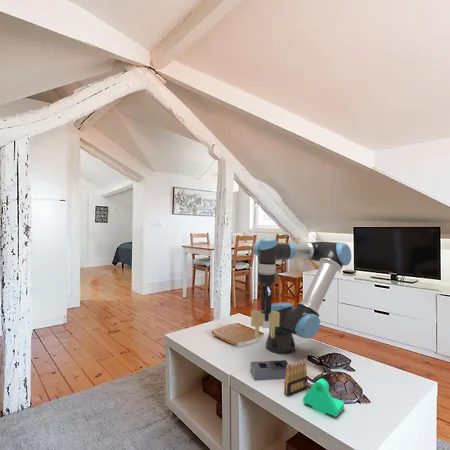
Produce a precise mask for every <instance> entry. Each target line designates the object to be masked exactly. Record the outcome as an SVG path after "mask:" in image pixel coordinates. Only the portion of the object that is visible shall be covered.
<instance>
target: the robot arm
mask: <svg viewBox="0 0 450 450" xmlns="http://www.w3.org/2000/svg"><path fill="white" fill-rule="evenodd" d="M252 249H253V250H252V251H253V254H254V255H255V256H257V257H258V265H257V269H258V275H257V276H258V277H257V281H258V283H261V285H260V308H261V309H260V310H261V311H264V312H262V313H263V327H262V329H269V331H268V332H269V333H268V336H267V339H266V341H265V349H266V350H267V351H269V352H271V353H275V354H282V355H284V354H285V355H286V354H291V353H294V352H295V351H296V341H295V338H294V337H293V335H296V336H298V337H299V338H304V339H310V338H311V339H312V338H314V337H315V336H316V335H317V333H318V332H319V330H320V327H321V325H320V324H321V320H320V314H319V309H320V308H321V306H322V303H323V302H324V298H325V297H326V295H327V293H328V291H329V289H330V287H331V284H332V283H333V280H334V278H335V276H336V273H337V272H341V270H342V268H343V267H344V266H349V264H350V263H351V261H352V251H351V248H350V246H349V245H348V244H347V243H345V242H340V241H338V242H336V241H335V242H334V241H311V242H309V241H307V242H304V243H292V242H291V243H290V242H277V239H275V238H260V240H259V241H256V242H255V243H254V244H253V248H252ZM294 258H297V259H298V258H300V259H301V258H303V259H304V260H309V261H314V262H317V263H319V264H320V265H319V267H318V269H317V271H316V273H315V274H314V277H313V279H312V281H311V283H310V285H309V286H308V289H307V291H306V293H305V295H304V297H303V299H302V301H301V302H298V303H297V304H296V306H295V307H294V308H293V304H292V303H291V302H275V303H272V300H273V299H272V298H273V289H272V287H271V284H274V283H276V273H277V272H276V271H277V270H276V269H277V268H276V266H277V263H276V261H277V260H288V261H289V260H292V259H294ZM271 311H278V312H279V313H280V318H279V327H275V338H272V337H271V336H270V332H271V327H269V320H270V313H271Z"/></svg>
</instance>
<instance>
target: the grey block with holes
mask: <svg viewBox="0 0 450 450" xmlns="http://www.w3.org/2000/svg"><path fill="white" fill-rule="evenodd" d="M287 364H289V362H288V361H287V359H286V360H284V359H283V360H281V359H280V360H266V361H265V360H264V361H250V373H251V376H252V378H253V380H254V381H267V380H270V381H271V380H282V379H285V380H286V367H287ZM289 371H290V364H289Z"/></svg>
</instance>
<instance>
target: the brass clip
mask: <svg viewBox="0 0 450 450" xmlns="http://www.w3.org/2000/svg"><path fill="white" fill-rule="evenodd" d="M262 312H264V311H262V310H251V312H250V313H251V314H250V315H251V317H250V320H251V321H250V325H251V327H254V336H255V338H256V339H259V338H260V327H262V328H263V313H262ZM279 318H280V313H279V312H278V311H271V313H270V320H269V327H271V332H270V336H271V337H272V338H275V327H279Z"/></svg>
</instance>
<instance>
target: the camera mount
mask: <svg viewBox="0 0 450 450" xmlns="http://www.w3.org/2000/svg"><path fill="white" fill-rule="evenodd" d="M329 390H330V384H329V382H328V381H327V380H326V379H325V378H319V379H318V380H316V381H315V382H314V383H313V384H312V385H311V387H310V388H308V391H307V392H306V393H305V395H304V396H303V398H302V402H303V403H304V404H306V405H309V406H311V407H312V410H315V412H319V413H321V414H322V415H324V416H325V415H327V414H329V415H331V416H333V417H335V418H336V417H337V416H338V415H340V413H341V412H342V411H343V409H345V401H342V400H340V399H337V398H335V397H334V396H332V394H331V392H330V391H329Z"/></svg>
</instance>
